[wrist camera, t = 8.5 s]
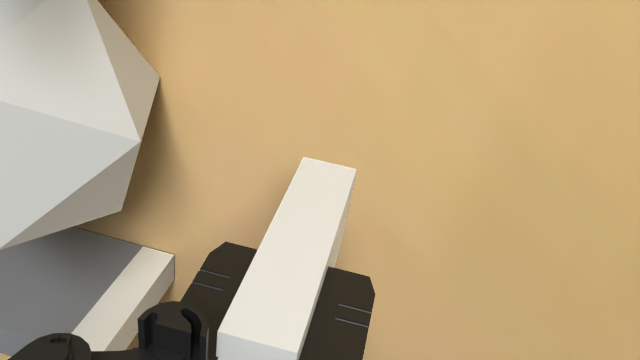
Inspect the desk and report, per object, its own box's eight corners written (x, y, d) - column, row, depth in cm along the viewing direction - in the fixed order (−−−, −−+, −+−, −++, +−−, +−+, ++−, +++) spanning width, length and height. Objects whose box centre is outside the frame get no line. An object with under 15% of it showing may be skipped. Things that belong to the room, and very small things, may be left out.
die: (-29, 72, 24) (-80, 301, 20) (-166, -116, 16) (-298, 191, 12) (173, 69, 25) (166, 286, 21) (133, -110, 17) (109, 175, 13)
